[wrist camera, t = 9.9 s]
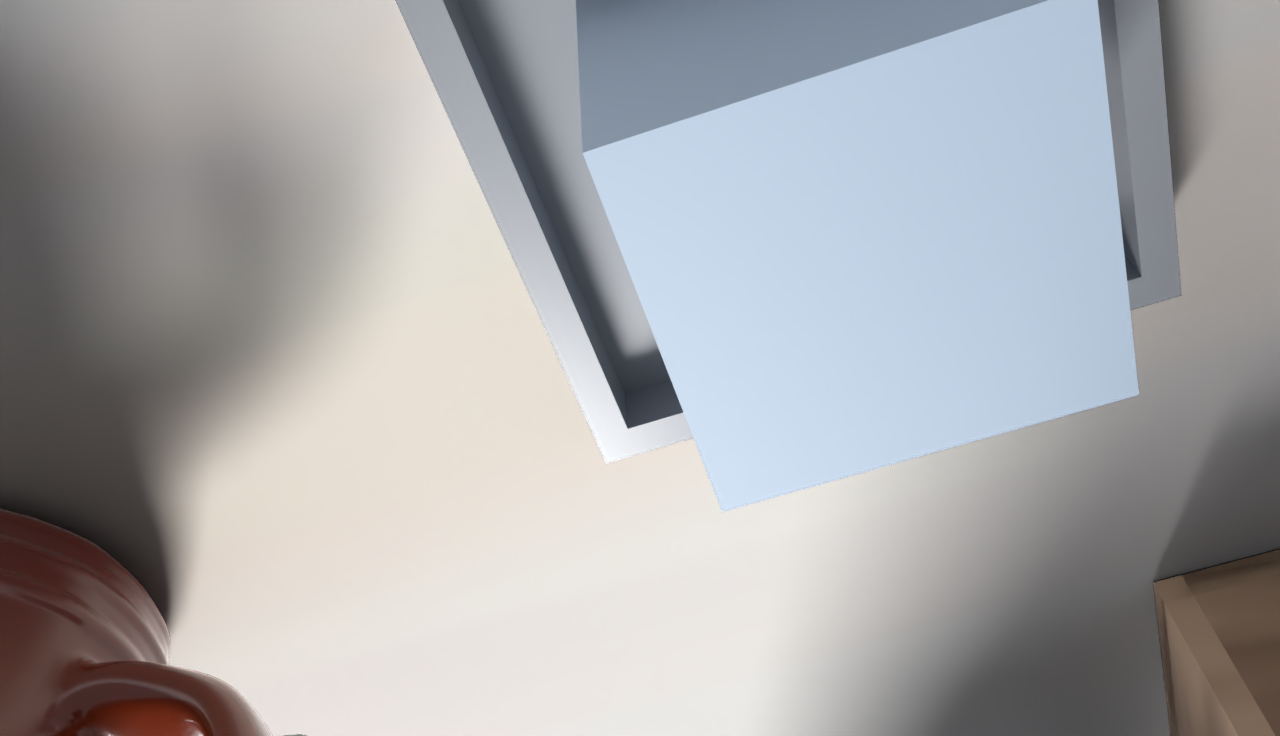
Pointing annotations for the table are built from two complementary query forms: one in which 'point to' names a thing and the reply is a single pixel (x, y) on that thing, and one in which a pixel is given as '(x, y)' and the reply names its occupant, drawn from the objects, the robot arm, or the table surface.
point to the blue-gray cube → (861, 221)
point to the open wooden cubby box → (1222, 648)
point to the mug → (94, 648)
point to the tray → (582, 235)
